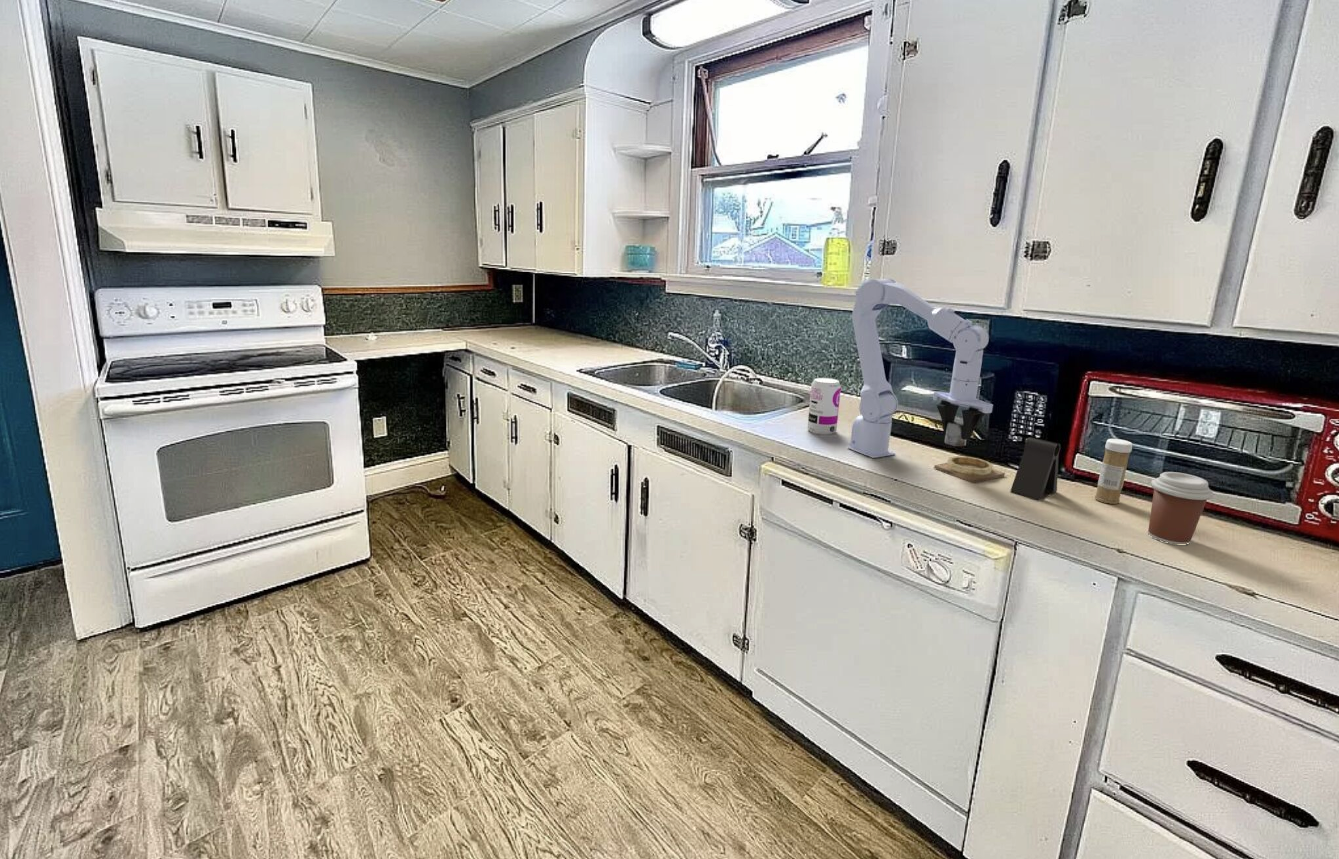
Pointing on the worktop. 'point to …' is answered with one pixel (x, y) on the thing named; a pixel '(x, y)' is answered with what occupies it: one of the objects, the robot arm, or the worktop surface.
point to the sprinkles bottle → (1113, 470)
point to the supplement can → (824, 406)
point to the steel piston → (954, 433)
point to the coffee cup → (1177, 506)
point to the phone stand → (1037, 469)
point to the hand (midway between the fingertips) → (956, 436)
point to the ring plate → (969, 478)
